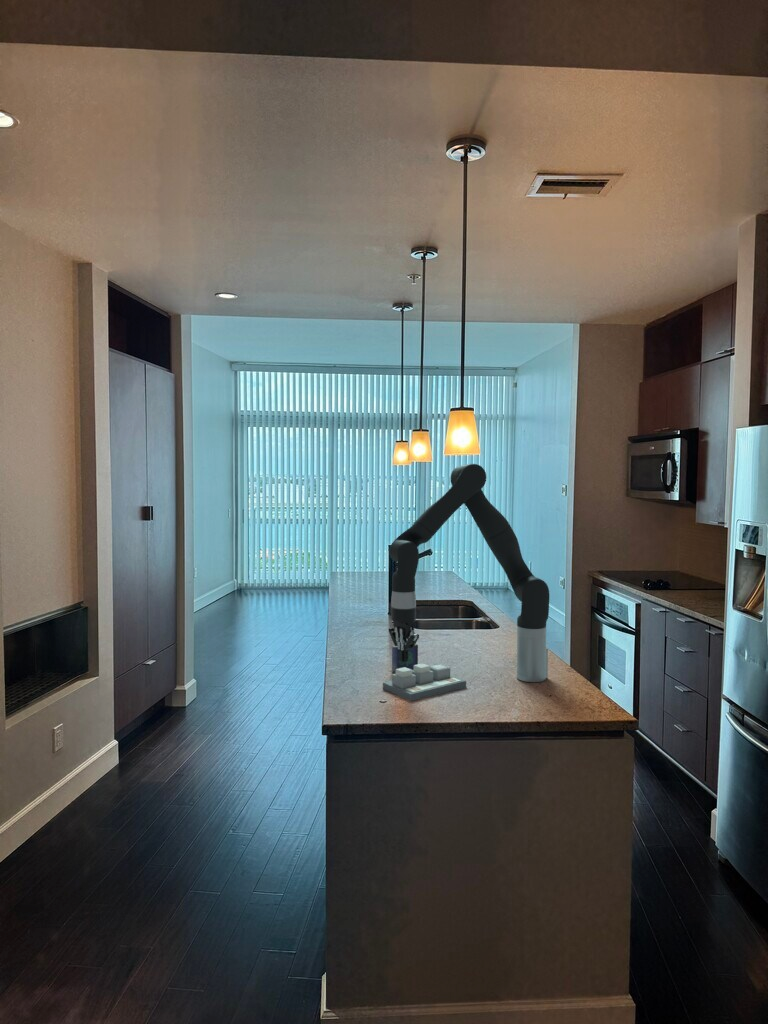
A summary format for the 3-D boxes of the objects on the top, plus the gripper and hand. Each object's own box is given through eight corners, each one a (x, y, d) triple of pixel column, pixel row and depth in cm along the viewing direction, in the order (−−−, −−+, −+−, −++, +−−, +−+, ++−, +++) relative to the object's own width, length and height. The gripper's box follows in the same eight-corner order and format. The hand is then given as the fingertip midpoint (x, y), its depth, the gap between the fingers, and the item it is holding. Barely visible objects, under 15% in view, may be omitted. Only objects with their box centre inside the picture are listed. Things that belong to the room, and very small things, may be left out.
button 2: (439, 673, 217) (439, 664, 217) (446, 676, 214) (446, 667, 214) (430, 675, 215) (430, 666, 214) (438, 678, 212) (438, 669, 212)
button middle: (422, 672, 213) (422, 663, 212) (429, 675, 210) (429, 665, 209) (413, 674, 210) (413, 665, 210) (420, 677, 208) (420, 667, 207)
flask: (393, 673, 224) (393, 642, 224) (390, 671, 227) (390, 640, 227) (419, 671, 227) (419, 639, 227) (415, 668, 230) (415, 637, 230)
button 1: (404, 676, 209) (404, 667, 208) (412, 679, 206) (412, 669, 205) (395, 678, 206) (395, 669, 206) (402, 681, 203) (402, 671, 203)
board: (437, 676, 221) (437, 661, 221) (466, 687, 210) (466, 671, 210) (382, 688, 208) (382, 672, 208) (410, 701, 197) (410, 684, 197)
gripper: (426, 607, 202) (426, 664, 203) (400, 600, 212) (400, 654, 213) (407, 610, 197) (406, 668, 198) (381, 603, 208) (381, 658, 209)
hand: (403, 661), depth 206 cm, fingers closed
